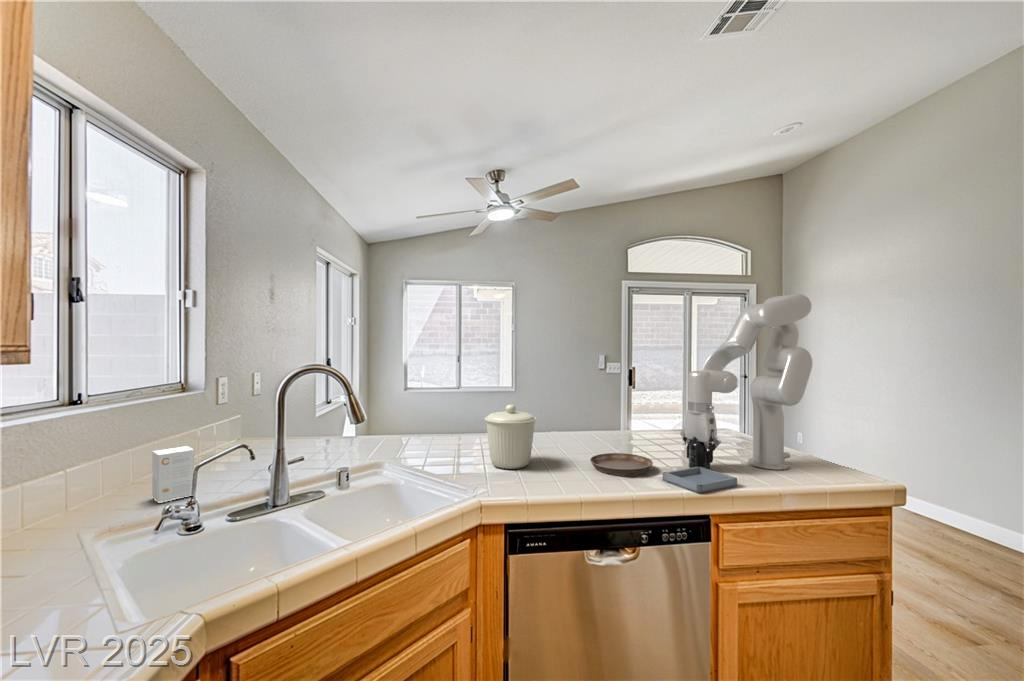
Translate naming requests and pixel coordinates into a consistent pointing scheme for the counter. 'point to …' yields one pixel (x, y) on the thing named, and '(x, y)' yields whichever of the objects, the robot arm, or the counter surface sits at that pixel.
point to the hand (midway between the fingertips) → (699, 459)
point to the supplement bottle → (697, 454)
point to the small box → (172, 473)
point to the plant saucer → (621, 463)
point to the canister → (510, 437)
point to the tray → (699, 479)
